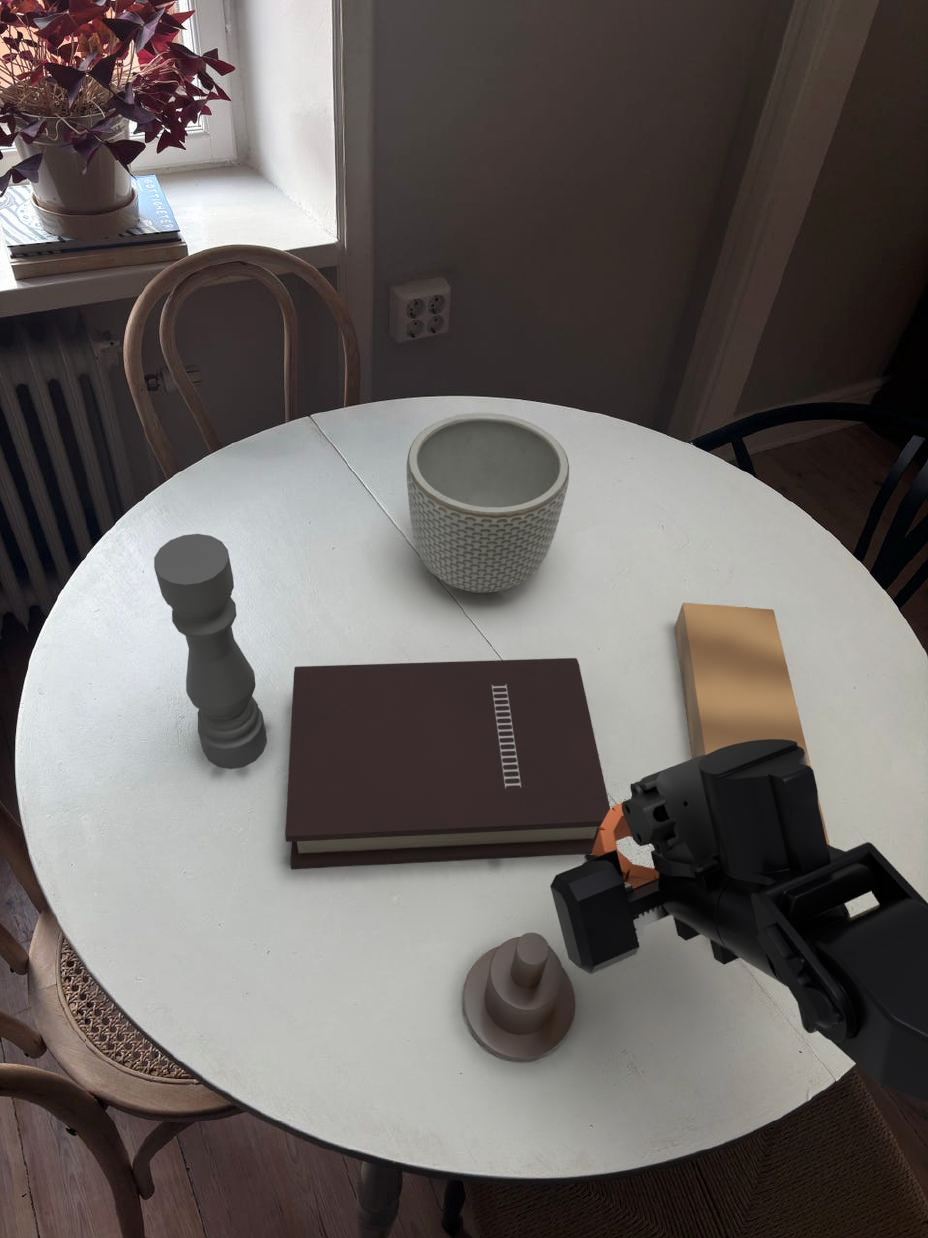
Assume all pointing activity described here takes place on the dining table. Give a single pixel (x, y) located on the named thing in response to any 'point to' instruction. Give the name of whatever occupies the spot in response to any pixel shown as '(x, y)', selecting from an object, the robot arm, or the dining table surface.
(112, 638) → the dining table surface
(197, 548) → the candle holder
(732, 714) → the wooden board
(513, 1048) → the peg stand
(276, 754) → the dining table surface
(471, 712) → the book
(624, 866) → the ring
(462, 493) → the planter
